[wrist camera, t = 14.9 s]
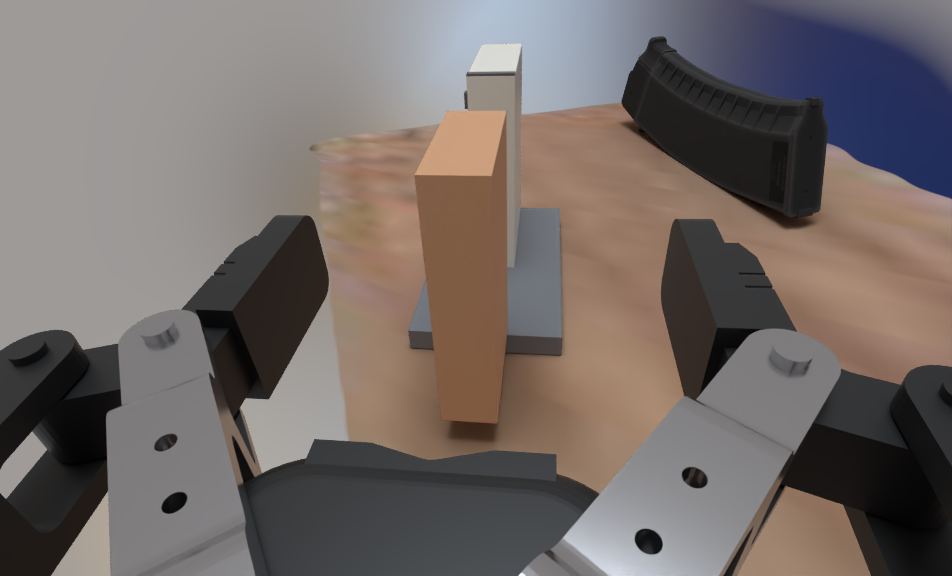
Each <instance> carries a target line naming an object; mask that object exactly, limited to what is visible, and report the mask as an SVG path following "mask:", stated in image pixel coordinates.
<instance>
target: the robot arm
mask: <svg viewBox="0 0 952 576" xmlns="http://www.w3.org/2000/svg"><path fill="white" fill-rule="evenodd" d="M328 285H329V277H328V271H327V267H326V263H325V259H324V255H323V252H322V248H321V244H320V240H319V237H318V233H317V229H316V226H315V223H314V221H313V219H312V218H311V217H310V216H299V215H298V216H297V215H295V216H294V215H291V216H290V215H289V216H287V215H285V216H284V215H277V216H275V217H274V218H273V219H272V220H271V221H270V222H269V223H268V225H267V226H266V227H265V228H264V229H263V231H262V232H261V233H260V234H259V235H258V236H254V237H253V238H251V239H249V240H248V241H246V242H245V243H243V244H241V245H240V246H238V247H237V248H235V250H234V251H233V252H232V253H231V254H230V255H229V256H228V257H227V258H226V260H225V261H224V264H221V265H220V266H219V268H218V269H217V270H216V271H215V272H214V276H211V277H210V278H209V279H208V280H207V281H206V282H205V283H204V285H203V286H202V287H201V288H200V289H199V290H198V291H197V292H196V294H195V295H194V296H193V297H192V298H191V299H190V300H189V301H188V303H187V304H186V305H185V306H184V307H183V308H182V309H181V310H169V311H164V312H160V313H157V314H154V315H151V316H149V317H147V318H145V319H143V320H141V321H139V322H137V323H136V324H135V325H133V326H132V327H131V328H130V329H128V330H127V331H126V332H125V333H124V335H123V336H122V337H121V339H120V341H119V343H118V344H114V345H108V346H103V347H97V348H92V349H86V350H83V349H82V348H81V346H80V345H79V343H78V342H77V340H76V339H75V337H74V336H73V335H72V334H71V333H69V332H67V331H63V330H50V331H44V332H40V333H36V334H33V335H30V336H27V337H25V338H22V339H20V340H18V341H16V342H14V343H12V344H10V345H9V346H7V347H5V348H4V349H3V350H1V351H0V469H1V467H2V465H3V463H4V462H5V461H6V460H7V459H8V458H9V456H10V455H11V454H12V453H13V452H14V451H15V450H16V448H17V447H18V446H19V445H20V444H21V443H22V442H23V441H24V440H25V438H26V437H27V436H28V435H29V434H30V433H31V432H32V431H33V433H34V434H35V435H36V436H37V437H38V439H39V440H40V441H41V442H42V443H43V445H44V446H45V447H46V448H47V451H46V452H45V453H44V454H43V456H42V457H41V458H40V459H39V460H38V462H37V463H36V464H35V465H34V466H33V468H32V469H31V470H30V471H29V472H28V474H27V475H26V476H25V477H24V478H23V480H22V481H21V482H20V483H19V484H18V486H17V487H16V488H15V489H14V491H13V492H12V493H11V494H10V495H9V496H8V498H7V499H5V498H4V497H3V496H2V495H1V494H0V576H51V575H52V573H53V572H54V570H55V568H56V567H57V565H58V564H59V563H60V561H61V560H62V558H63V557H64V555H65V554H66V552H67V551H68V549H69V548H70V546H71V545H72V543H73V542H74V541H75V539H76V538H77V536H78V535H79V533H80V532H81V530H82V528H83V527H84V526H85V524H86V523H87V521H88V520H89V518H90V516H91V515H92V514H93V512H94V511H95V509H96V508H97V506H98V505H99V504H100V502H101V501H102V499H103V498H104V496H105V495H106V493H107V492H108V497H109V498H108V499H109V500H108V501H109V535H110V567H111V576H737V575H738V573H739V571H740V569H741V567H742V565H743V563H744V562H745V560H746V558H747V556H748V554H749V553H750V551H751V549H752V547H753V545H754V544H755V542H756V540H757V538H758V537H759V535H760V533H761V531H762V530H763V528H764V526H765V524H766V523H767V521H768V519H769V517H770V515H771V514H772V512H773V510H774V508H775V507H776V505H777V503H778V501H779V500H780V498H781V496H782V494H783V492H784V491H785V489H786V487H787V486H788V487H791V488H794V489H797V490H800V491H803V492H806V493H809V494H812V495H815V496H818V497H821V498H824V499H827V500H830V501H834V502H837V503H840V504H843V505H844V508H845V510H846V513H847V515H848V518H849V520H850V523H851V525H852V528H853V531H854V533H855V536H856V538H857V541H858V543H859V546H860V548H861V551H862V553H863V556H864V558H865V561H866V564H867V566H868V569H869V571H870V574H871V576H952V367H948V366H940V365H927V366H921V367H917V368H915V369H913V370H911V371H910V372H909V373H908V374H907V375H906V377H905V379H904V380H903V382H902V384H901V385H899V384H895V383H891V382H887V381H883V380H879V379H875V378H871V377H866V376H862V375H858V374H855V373H851V372H848V371H846V370H843V369H841V367H840V363H839V361H838V359H837V357H836V356H835V355H834V353H833V352H832V351H831V350H830V349H829V348H827V347H826V346H825V345H823V344H822V343H821V342H819V341H817V340H815V339H814V338H812V337H809V336H807V335H805V334H802V333H799V332H797V331H796V329H795V327H794V325H793V323H792V321H791V320H790V318H789V316H788V314H787V312H786V310H785V309H784V307H783V305H782V303H781V301H780V299H779V297H778V296H777V294H776V292H775V290H774V289H772V284H771V283H770V281H769V279H768V277H767V276H765V271H764V270H763V268H762V266H761V264H760V262H759V260H758V259H757V257H756V256H755V255H753V254H752V253H751V252H750V251H748V250H747V249H746V248H744V247H743V246H742V245H740V244H739V243H724V241H723V239H722V236H721V234H720V232H719V230H718V228H717V226H716V224H715V222H714V220H712V219H675V220H674V222H673V224H672V228H671V233H670V238H669V244H668V249H667V255H666V261H665V266H664V272H663V277H662V285H661V302H662V309H663V313H664V317H665V321H666V325H667V329H668V333H669V337H670V341H671V345H672V349H673V352H674V356H675V360H676V364H677V368H678V372H679V376H680V380H681V384H682V388H683V392H684V397H683V398H682V399H680V400H679V401H678V403H677V404H676V405H675V406H674V407H673V408H672V410H671V411H670V412H669V413H668V414H667V415H666V417H665V418H664V419H663V420H662V421H661V423H660V424H659V425H658V426H657V427H656V428H655V430H654V431H653V432H652V433H651V434H650V436H649V437H648V438H647V439H646V440H645V441H644V443H643V444H642V445H641V446H640V447H639V448H638V450H637V451H636V452H635V453H634V454H633V456H632V457H631V458H630V459H629V460H628V461H627V463H626V464H625V465H624V466H623V467H622V469H621V470H620V471H619V472H618V473H617V474H616V476H615V477H614V478H613V479H612V480H611V482H610V483H609V484H608V485H607V486H606V487H605V489H604V490H603V491H602V492H601V493H600V494H599V493H597V492H596V491H594V490H593V489H591V488H589V487H587V486H586V485H584V484H582V483H580V482H577V481H575V480H573V479H570V478H568V477H565V476H562V475H559V474H556V454H541V453H525V452H509V451H488V452H482V453H475V454H469V455H463V456H456V457H450V458H444V459H437V460H425V459H421V458H418V457H415V456H412V455H409V454H405V453H402V452H399V451H396V450H393V449H389V448H386V447H383V446H380V445H377V444H374V443H366V442H350V441H335V440H319V439H318V440H317V439H314V442H313V444H312V446H311V449H310V451H309V453H308V456H307V458H306V459H301V460H297V461H294V462H290V463H286V464H283V465H281V466H278V467H275V468H272V469H270V470H268V471H266V472H264V473H262V472H261V469H260V465H259V462H258V459H257V456H256V452H255V449H254V446H253V443H252V440H251V436H250V433H249V430H248V426H247V423H246V420H245V417H244V415H243V412H242V410H241V408H240V406H241V405H242V403H243V401H244V400H245V398H253V399H269V398H270V396H271V394H272V393H273V391H274V389H275V387H276V385H277V384H278V382H279V380H280V378H281V377H282V375H283V373H284V371H285V369H286V368H287V366H288V364H289V362H290V360H291V359H292V357H293V355H294V353H295V352H296V350H297V348H298V346H299V344H300V342H301V341H302V339H303V337H304V335H305V334H306V332H307V330H308V328H309V326H310V325H311V323H312V321H313V319H314V318H315V316H316V314H317V312H318V310H319V309H320V307H321V305H322V303H323V301H324V300H325V297H326V295H327V292H328Z"/></svg>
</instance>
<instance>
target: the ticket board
mask: <svg viewBox="0 0 952 576" xmlns="http://www.w3.org/2000/svg"><path fill="white" fill-rule="evenodd" d="M521 91H522V44H483V45H482V47H481V49H480V51H479V53H478V55H477V57H476V59H475V61H474V63H473V65H472V67H471V69H470V71H469V72H467V91H465V92H464V99H465V109H468V111H506V135H507V288H508V330H507V340H506V349H505V353H525V354H546V355H561V349H562V303H561V256H560V210H559V208H520V203H521V96H522V95H521V94H522V92H521ZM408 331H409V338H410V345H411V348H422V349H434V346H433V337H432V328H431V319H430V310H429V301H428V292H427V283H426V280H425V283H424V286H423V289H422V292H421V295H420V298H419V301H418V304H417V307H416V310H415V313H414V316H413V319H412V322H411V325H410V327H409V330H408Z"/></svg>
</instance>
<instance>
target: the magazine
mask: <svg viewBox="0 0 952 576" xmlns="http://www.w3.org/2000/svg"><path fill="white" fill-rule="evenodd" d="M666 42H667V40H666V38H665V37H663V36H661V37H653V38H651V39H650V41H649V43H648V47H647V49H646V51H645V52H644V53H643V54H642V55H641V56H640V57H639V60H638V61H637V62H636V64H635V67H634V69H633V71H631V72H630V74H629V77H628V81H627V84H626V87H625V91H624V94H623V98H622V105H623V107H624V108H625V109H626V111H627V112H628V113H629V114H630V116H631V117H632V118H633V119H634V121H635V122H636V123H637V124H638V125H639V126H640V128H639V132H643V131H645V132H646V133H647V134H648V135H649V136H650V137H651V138H652V139H653V140H654V141H655V142H656V143H657V144H658V145H659V146H660V147H661V148H662V149H663V150H665V151H666V152H667V153H668V154H669V155H671V156H672V157H673V158H674V159H676V160H677V161H679V162H680V163H681V164H683V165H685V166H686V167H688V168H689V169H691V170H692V171H694V172H696V173H697V174H699V175H700V176H702V177H704V178H705V179H707V180H709V181H711V182H712V183H714V184H716V185H718V186H720V187H722V188H724V189H727V190H729V191H731V192H733V193H735V194H738V195H740V196H743V197H745V198H747V199H750V200H752V201H755V202H757V203H760V204H762V205H764V206H767V207H769V208H772V209H774V210H777V211H779V212H781V213H784V215H785V216H786V217H796V218H799V217H804V216H810V215H812V214H813V213H816V212H819V210H820V206H821V195H822V185H823V175H824V165H825V155H826V145H827V134H828V127H827V123H826V121H825V118H824V115H823V106H824V102H823V100H822V99H819V97H812V98H806V99H805V100H793V99H785V98H779V97H774V96H769V95H765V94H763V93H760V92H757V91H754V90H750V89H747V88H744V87H740V86H737V85H734V84H731V83H728V82H726V81H724V80H721V79H719V78H717V77H715V76H713V75H711V74H709V73H707V72H705V71H703V70H701V69H699V68H698V67H696V66H695V65H693V64H692V63H690V62H689V61H688V60H686V59H685V58H683V57H682V56H680V55H679V54H678V53H677V51H676V50H675V49H673V48H671V47H670V46H668V45H667V43H666Z"/></svg>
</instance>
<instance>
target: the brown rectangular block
mask: <svg viewBox="0 0 952 576" xmlns="http://www.w3.org/2000/svg"><path fill="white" fill-rule="evenodd" d="M415 184H416V193H417V202H418V211H419V220H420V229H421V238H422V247H423V256H424V265H425V274H426V283H427V292H428V301H429V310H430V319H431V328H432V337H433V346H434V355H435V364H436V373H437V382H438V391H439V400H440V409H441V418H442V420H450V421H465V422H481V423H497V424H498V415H499V405H500V396H501V387H502V377H503V368H504V358H505V349H506V340H507V330H508V288H507V135H506V111H447V112H446V114H445V116H444V118H443V120H442V122H441V124H440V126H439V128H438V130H437V132H436V134H435V136H434V138H433V140H432V142H431V144H430V146H429V148H428V150H427V152H426V153H425V155H424V157H423V159H422V161H421V163H420V165H419V167H418V169H417V171H416V173H415Z"/></svg>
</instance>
